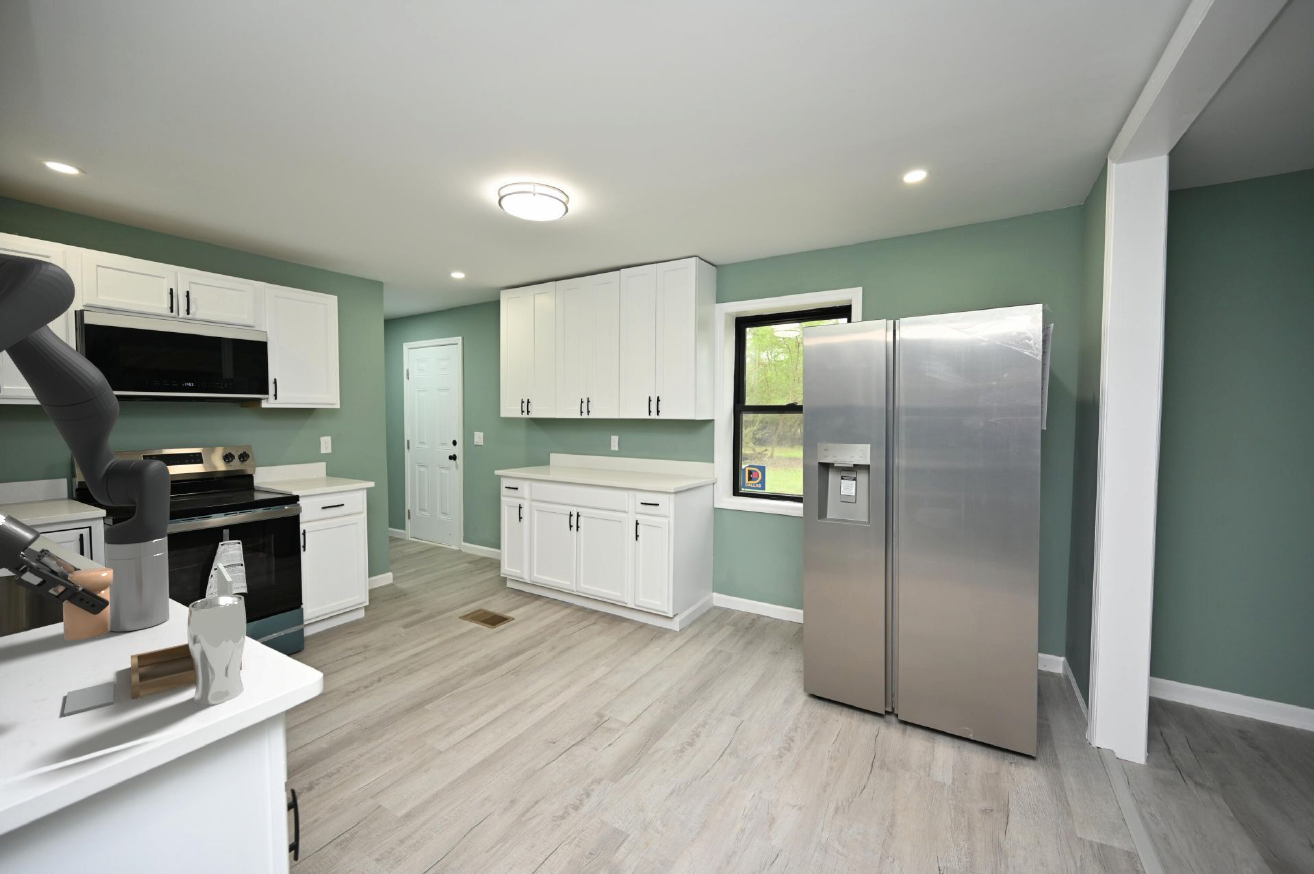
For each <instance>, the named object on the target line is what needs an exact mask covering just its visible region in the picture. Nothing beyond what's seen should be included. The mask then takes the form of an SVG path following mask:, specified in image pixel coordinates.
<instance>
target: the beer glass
mask: <svg viewBox="0 0 1314 874" xmlns="http://www.w3.org/2000/svg"><path fill="white" fill-rule="evenodd" d="M246 616H247V615H246V607H245V597H244V596H242V595H240V594H233V595H221V596H218V595H215V596H210V597H206V598H202V599H199V600H196V601H194V602H192V603H190V604H189V605H188V617H187V643H188V646H189V651H190V655H191V659H192V663H193V667H194V671H195V675H196V683H195V691H194V696H193V700H192V702H193V704H195V706H202V707H203V706H205V707H206V706H215V705H218V704H219V705H220V704H223V703H226V702H229V701H231V700H233V699H236V698H238V697H239V696H240V695H242V694H243V692H244V690H245V688H244V685H243V682H242V676H241V670H240V666H241V659H243V654H244V650H245V649H244V648H245V642H246V637H247V617H246Z"/></svg>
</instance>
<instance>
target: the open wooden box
mask: <svg viewBox="0 0 1314 874" xmlns="http://www.w3.org/2000/svg"><path fill="white" fill-rule="evenodd" d="M242 659H243V658H242ZM242 659H241V666H240V671H242V670H243V669H242V668H243V667H242V661H243V660H242ZM130 673H131V677H130V679H131V697H132V700H135V699H139V698H142V697H143V698H144V697H146V696H151V695H155V694H158V693H162V692H167V691H169V690H170V691H171V690H174V689H177V688H183V687H186V686H189V685H190V686H191V685H194V684H195V685H196V675H195V671H194V667H193V663H192V659H191V655H190V651H189V646H188V642H187V643H184V644H179V645H172V646H169V647H165V648H160V649H156V650H151V651H145V652H141V653H137V654H132V655H130Z"/></svg>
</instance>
